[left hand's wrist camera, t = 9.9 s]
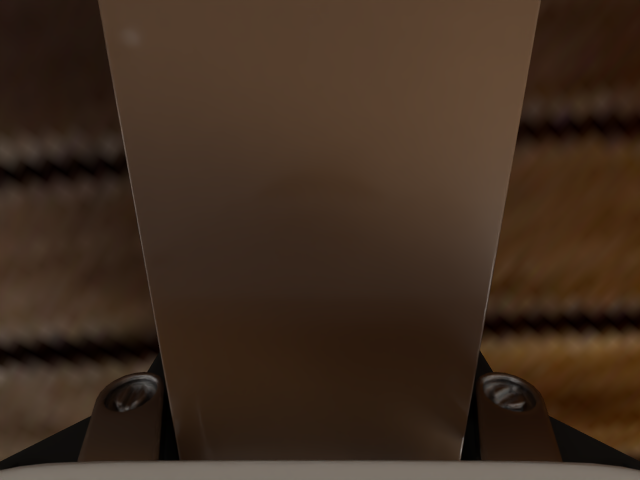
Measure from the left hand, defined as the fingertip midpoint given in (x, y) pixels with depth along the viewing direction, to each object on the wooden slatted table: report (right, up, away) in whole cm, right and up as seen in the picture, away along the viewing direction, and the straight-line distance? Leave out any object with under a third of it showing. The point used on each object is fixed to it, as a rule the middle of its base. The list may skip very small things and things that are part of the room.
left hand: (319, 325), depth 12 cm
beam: (0, +21, -6) cm, 22 cm away
